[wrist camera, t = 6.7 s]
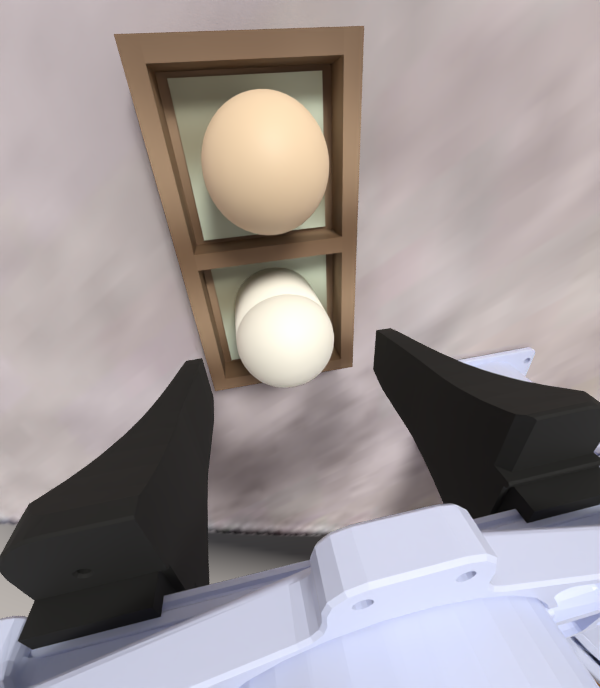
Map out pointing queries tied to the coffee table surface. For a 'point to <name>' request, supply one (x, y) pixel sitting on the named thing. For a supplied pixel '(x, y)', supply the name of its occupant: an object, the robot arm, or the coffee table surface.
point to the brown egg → (265, 162)
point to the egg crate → (189, 186)
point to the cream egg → (281, 328)
